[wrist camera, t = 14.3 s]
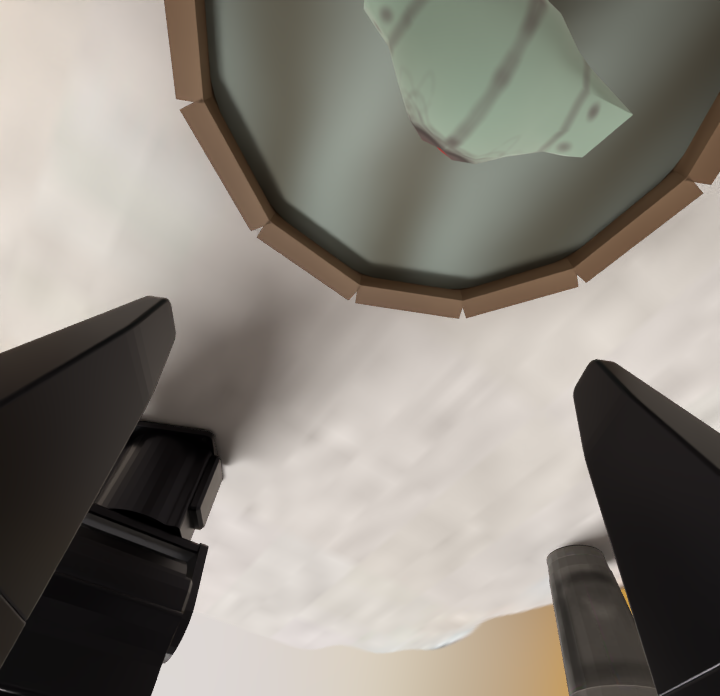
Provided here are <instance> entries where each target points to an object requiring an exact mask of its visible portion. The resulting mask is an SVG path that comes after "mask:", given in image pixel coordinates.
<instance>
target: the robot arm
mask: <svg viewBox="0 0 720 696" xmlns="http://www.w3.org/2000/svg"><path fill="white" fill-rule="evenodd" d="M175 335H176V332H175V325H174V319H173V313H172V307H171V303H170V301H169V300H168V299H167V298H161V297H154V296H146V297H143V298H141V299H138V300H136V301H133V302H130V303H128V304H125V305H123V306H120V307H118V308H115V309H112V310H110V311H107V312H105V313H102V314H100V315H97V316H95V317H92V318H89V319H87V320H84V321H82V322H79V323H77V324H74V325H71V326H69V327H66V328H64V329H61V330H59V331H56V332H54V333H51V334H48V335H46V336H43V337H41V338H38V339H36V340H33V341H30V342H28V343H25V344H23V345H20V346H18V347H15V348H13V349H10V350H7V351H5V352H2V353H0V696H151V694H152V691H153V688H154V686H155V683H156V680H157V677H158V674H159V671H160V668H161V665H162V664H163V663H165V662H167V661H168V660H169V659H170V658H171V656H172V655H173V653H174V652H175V650H176V649H177V647H178V645H179V643H180V641H181V640H182V637H183V635H184V633H185V631H186V629H187V626H188V624H189V621H190V619H191V616H192V613H193V610H194V606H195V602H196V598H197V594H198V589H199V585H200V581H201V576H202V572H203V568H204V564H205V559H206V555H207V551H208V546H207V545H204V544H202V543H200V544H198V543H195V542H193V541H190V540H191V538H192V535H193V533H194V530H195V529H198V530H201V529H202V528H203V527H204V526H205V524H206V521H207V518H208V516H209V513H210V511H211V508H212V505H213V503H214V500H215V497H216V495H217V492H218V490H219V487H220V484H221V482H222V479H223V477H222V468H221V460H220V458H219V456H217V451H216V443H215V436H214V434H213V433H211V432H210V431H205V430H198V429H191V428H184V427H177V426H171V425H164V424H157V423H150V422H143V421H139V420H140V418H141V416H142V414H143V412H144V411H145V409H146V407H147V405H148V403H149V401H150V399H151V397H152V395H153V392H154V390H155V388H156V385H157V383H158V380H159V378H160V375H161V373H162V371H163V368H164V366H165V363H166V361H167V358H168V356H169V353H170V351H171V348H172V346H173V343H174V340H175ZM573 398H574V404H575V409H576V415H577V420H578V426H579V431H580V436H581V442H582V447H583V452H584V456H585V461H586V464H587V468H588V471H589V474H590V478H591V481H592V484H593V487H594V491H595V494H596V497H597V500H598V504H599V507H600V510H601V513H602V517H603V520H604V523H605V526H606V530H607V533H608V536H609V539H610V543H611V546H612V549H613V552H614V556H615V559H616V562H617V565H618V569H619V572H620V575H621V578H622V582H623V585H624V588H625V591H626V594H627V598H628V601H629V604H630V608H631V611H632V614H633V617H634V621H635V624H636V627H637V630H638V634H639V637H640V640H641V643H642V647H643V650H644V653H645V656H646V660H647V663H648V666H649V669H650V673H651V676H652V679H653V682H654V686H655V689H656V692H657V695H658V696H720V433H719V432H717V431H716V430H714V429H713V428H711V427H710V426H708V425H707V424H705V423H704V422H702V421H701V420H699V419H698V418H696V417H695V416H694V415H692V414H691V413H689V412H688V411H686V410H685V409H683V408H682V407H680V406H679V405H677V404H676V403H674V402H673V401H671V400H670V399H668V398H667V397H665V396H664V395H662V394H661V393H659V392H658V391H656V390H655V389H653V388H652V387H650V386H649V385H648V384H646V383H645V382H643V381H642V380H640V379H639V378H637V377H636V376H634V375H633V374H631V373H630V372H628V371H627V370H625V369H624V368H622V367H621V366H619V365H618V364H616V363H615V362H612V361H605V360H598V359H595V360H593V361H591V362H590V363H589V364H588V366H587V367H586V369H585V371H584V372H583V374H582V376H581V378H580V379H579V381H578V383H577V384H576V386H575V389H574V393H573Z"/></svg>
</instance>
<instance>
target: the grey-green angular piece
mask: <svg viewBox="0 0 720 696" xmlns="http://www.w3.org/2000/svg"><path fill="white" fill-rule="evenodd" d="M364 10H365V12H366V13H367V15H368V16H369V18H370V19H371V21H372V23H373V24H374V26H375V27H376V29H377V30H378V32H379V33H380V35H381V36H382V38H383V39H384V41H385V42H386V44H387V45H388V47H389V50H390V54H391V58H392V62H393V66H394V69H395V73H396V77H397V81H398V84H399V88H400V91H401V94H402V98H403V101H404V104H405V108H406V111H407V114H408V118H409V119H410V121H411V123H412V124H413V126H414V128H415V129H416V131H417V133H418V134H419V136H420V138H421V139H422V140H423V141H425V142H427V143H429V144H431V145H433V146H435V147H437V148H438V149H439V150H440V151H442V152H443V153H444V154H445V155H446V156H448V157H449V158H450V159H451V160H453V161H460V162H466V163H472V164H478V163H482V162H486V161H490V160H494V159H498V158H502V157H507V156H515V155H522V154H529V153H536V152H548V153H552V154H557V155H561V156H571V157H583V156H585V155H586V154H587V153H588V152H589V151H591V150H592V149H593V148H594V147H595V146H596V145H598V144H599V143H600V142H601V141H602V140H604V139H605V138H606V137H607V136H608V135H610V134H611V133H612V132H613V131H614V130H615V129H617V128H618V127H619V126H620V125H621V124H623V123H624V122H625V121H626V120H627V119H629V118H630V117H631V116H632V115H633V114H632V113H631V112H630V111H629V109H628V108H627V107H626V106H625V105H624V104H623V103H622V102H621V101H620V100H619V99H618V97H617V96H616V95H615V94H614V93H613V92H612V91H611V90H610V89H609V88H608V87H607V85H606V84H605V83H604V82H603V81H602V80H601V79H600V78H599V77H598V76H597V74H596V73H595V72H594V71H593V70H592V69H591V68H590V66H589V65H588V64H587V62H586V61H585V59H584V58H583V56H582V55H581V54H580V52H579V50H578V48H577V46H576V44H575V42H574V40H573V38H572V36H571V33H570V31H569V29H568V27H567V25H566V23H565V21H564V18H563V16H562V14H561V13H560V12H559V11H558V10H557V9H556V8H555V7H554V6H553V5H552V4H551V3H550V2H549V1H548V0H364Z"/></svg>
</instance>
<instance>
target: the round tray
mask: <svg viewBox="0 0 720 696" xmlns="http://www.w3.org/2000/svg"><path fill="white" fill-rule="evenodd" d="M548 1H549V2H550V3H551V4H552V5H553V6H554V7H555V8H556V9H557V10H558V11H559V12H560V13H561V14H562V16H563V18H564V21H565V23H566V25H567V27H568V29H569V31H570V33H571V36H572V38H573V40H574V42H575V44H576V46H577V48H578V50H579V52H580V54H581V55H582V56H583V58H584V59H585V61H586V62H587V64H588V65H589V66H590V68H591V69H592V70H593V71H594V72H595V73H596V74H597V76H598V77H599V78H600V79H601V80H602V81H603V82H604V83H605V84H606V85H607V87H608V88H609V89H610V90H611V91H612V92H613V93H614V94H615V95H616V96H617V97H618V99H619V100H620V101H621V102H622V103H623V104H624V105H625V106H626V107H627V108H628V109H629V111H630V112H631V113H632V114H633V115H632V116H631V117H630V118H629V119H627V120H626V121H625V122H624V123H623V124H621V125H620V126H619V127H618V128H617V129H615V130H614V131H613V132H612V133H611V134H610V135H608V136H607V137H606V138H605V139H604V140H602V141H601V142H600V143H599V144H598V145H596V146H595V147H594V148H593V149H592V150H591V151H589V152H588V153H587V154H586V155H585V156H583V157H571V156H561V155H557V154H552V153H548V152H536V153H529V154H522V155H515V156H507V157H502V158H498V159H494V160H490V161H486V162H482V163H478V164H472V163H466V162H460V161H453V160H451V159H450V158H449V157H448V156H446V155H445V154H444V153H443V152H442V151H440V150H439V149H438V148H437V147H435V146H433V145H431V144H429V143H427V142H425V141H423V140H422V139H421V138H420V136H419V134H418V133H417V131H416V129H415V128H414V126H413V124H412V123H411V121H410V119H409V118H408V114H407V111H406V108H405V104H404V101H403V98H402V94H401V91H400V88H399V84H398V81H397V77H396V73H395V69H394V66H393V62H392V58H391V54H390V50H389V47H388V45H387V44H386V42H385V41H384V39H383V38H382V36H381V35H380V33H379V32H378V30H377V29H376V27H375V26H374V24H373V23H372V21H371V19H370V18H369V16H368V15H367V13H366V12H365V10H364V0H164V4H165V12H166V20H167V28H168V37H169V45H170V53H171V61H172V69H173V78H174V86H175V94H176V99H179V100H185V101H191V102H194V103H192V104H190V105H188V106H186V107H184V108H182V109H180V111H181V113H182V114H183V116H184V118H185V119H186V121H187V123H188V125H189V126H190V128H191V130H192V131H193V133H194V135H195V137H196V138H197V140H198V142H199V143H200V145H201V147H202V149H203V150H204V152H205V154H206V155H207V157H208V159H209V160H210V162H211V164H212V166H213V167H214V169H215V171H216V172H217V174H218V176H219V178H220V179H221V181H222V183H223V184H224V186H225V188H226V189H227V191H228V193H229V195H230V196H231V198H232V200H233V201H234V203H235V205H236V207H237V208H238V210H239V212H240V213H241V215H242V217H243V219H244V220H245V222H246V224H247V225H248V227H249V229H250V230H251V231H252V230H255V229H257V228H260V227H262V226H263V228H262V230H261V231H260V233H259V234H258V236H257V238H258V239H260V240H261V241H263V242H264V243H266V244H267V245H269V246H270V247H272V248H273V249H274V250H276V251H277V252H279V253H280V254H282V255H283V256H285V257H286V258H288V259H289V260H290V261H292V262H293V263H295V264H296V265H298V266H299V267H301V268H302V269H304V270H305V271H306V272H308V273H309V274H311V275H312V276H314V277H315V278H317V279H318V280H320V281H321V282H322V283H324V284H325V285H327V286H328V287H330V288H331V289H333V290H334V291H336V292H337V293H338V294H340V295H341V296H343V297H344V298H346V299H347V300H349V299H350V298H351V297H352V296H353V295H354V294H355V293H356V292H357V295H356V302H355V303H358V304H365V305H371V306H378V307H385V308H391V309H398V310H404V311H411V312H418V313H424V314H431V315H437V316H444V317H451V318H457V319H459V316H460V313H461V310H462V307H463V310H464V313H465V316H466V318H469V317H472V316H476V315H479V314H483V313H487V312H490V311H494V310H497V309H501V308H504V307H508V306H511V305H515V304H519V303H522V302H526V301H529V300H533V299H536V298H540V297H544V296H547V295H551V294H554V293H558V292H561V291H565V290H568V289H572V288H576V287H578V280H577V275H578V276H579V277H580V278H582V279H583V280H584V281H585V282H586V283H587V282H588V281H589V280H591V279H592V278H593V277H594V276H596V275H597V274H598V273H600V272H601V271H602V270H604V269H605V268H606V267H608V266H609V265H610V264H611V263H613V262H614V261H615V260H617V259H618V258H619V257H621V256H622V255H623V254H625V253H626V252H627V251H628V250H630V249H631V248H632V247H634V246H635V245H636V244H638V243H639V242H640V241H642V240H643V239H644V238H645V237H647V236H648V235H649V234H651V233H652V232H653V231H655V230H656V229H657V228H659V227H660V226H661V225H662V224H664V223H665V222H666V221H668V220H669V219H670V218H672V217H673V216H674V215H676V214H677V213H678V212H680V211H681V210H682V209H683V208H685V207H686V206H687V205H689V204H690V203H691V202H693V201H694V200H695V199H697V198H698V197H699V196H700V195H702V194H703V192H702V191H701V190H700V189H699V188H698V186H697V185H696V184H695V183H694V182H697V183H703V184H710V185H711V184H712V183H713V181H714V180H715V178H716V176H717V175H718V173H719V172H720V0H548Z"/></svg>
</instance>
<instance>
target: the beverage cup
mask: <svg viewBox="0 0 720 696" xmlns="http://www.w3.org/2000/svg"><path fill="white" fill-rule="evenodd" d="M547 564H548V568H549V569H548V571H549V582H550V588H551V594H552V599H553V605H554V611H555V617H556V622H557V628H558V634H559V640H560V645H561V651H562V656H563V662H564V668H565V674H566V679H567V685H568V691H569V696H658V695H657V692H656V689H655V686H654V682H653V679H652V676H651V673H650V669H649V666H648V663H647V660H646V656H645V653H644V650H643V647H642V643H641V640H640V637H639V634H638V630H637V627H636V624H635V621H634V618H633V615H632V613H631V611H630V609H629V607H628V605H627V603H626V600H625V598H624V596H623V594H622V592H621V590H620V588H619V586H618V583H617V581H616V579H615V577H614V575H613V573H612V571H611V570H610V568H609V566H608V564H607V562H606V561H605V558H604V556H603V554H602V552H601V551H600V550H598V549H596V548H593V547H590V546H582V545H578V546H568V547H563V548H560V549H557V550H555V551H553V552H552V553H550V554H549V556H548V557H547Z"/></svg>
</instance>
